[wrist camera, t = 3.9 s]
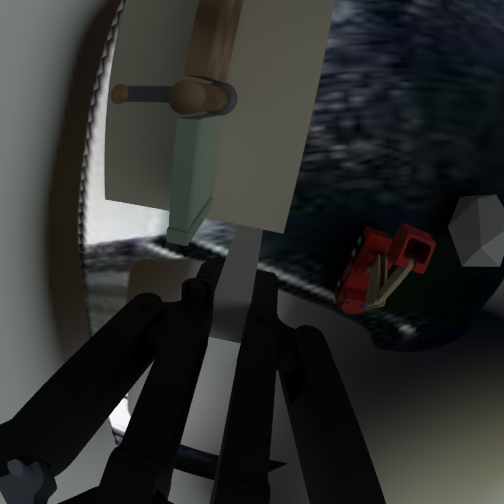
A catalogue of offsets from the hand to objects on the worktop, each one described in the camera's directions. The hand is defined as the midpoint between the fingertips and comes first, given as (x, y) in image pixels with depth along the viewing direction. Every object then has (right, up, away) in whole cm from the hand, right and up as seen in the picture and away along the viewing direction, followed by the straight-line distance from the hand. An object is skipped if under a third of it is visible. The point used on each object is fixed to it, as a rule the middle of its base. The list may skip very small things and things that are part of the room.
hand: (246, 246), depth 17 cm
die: (+27, +4, +9) cm, 29 cm away
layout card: (-5, +16, +6) cm, 18 cm away
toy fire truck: (+14, 0, +14) cm, 19 cm away
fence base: (-2, +20, +3) cm, 21 cm away
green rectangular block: (-4, +9, +10) cm, 14 cm away
